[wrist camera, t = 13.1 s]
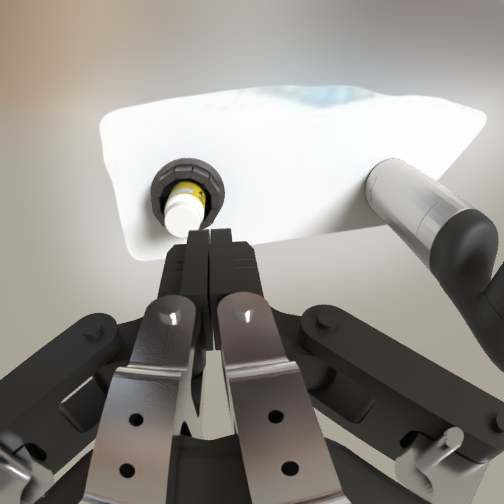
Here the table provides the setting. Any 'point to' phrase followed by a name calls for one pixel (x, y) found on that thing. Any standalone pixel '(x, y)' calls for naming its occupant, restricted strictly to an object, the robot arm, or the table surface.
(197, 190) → the supplement bottle
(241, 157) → the table surface
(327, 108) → the table surface
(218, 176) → the barrel ring
